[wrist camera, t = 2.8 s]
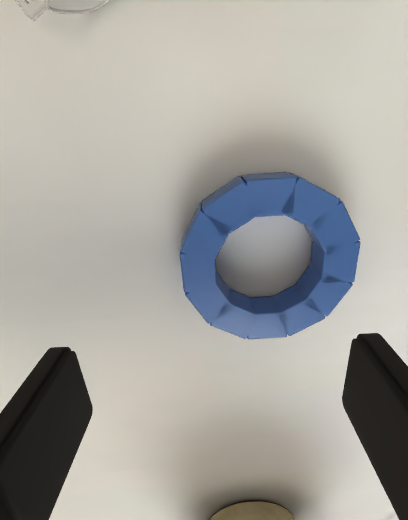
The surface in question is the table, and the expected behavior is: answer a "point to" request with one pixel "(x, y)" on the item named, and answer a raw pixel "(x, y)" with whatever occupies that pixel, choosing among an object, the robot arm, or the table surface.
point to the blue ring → (294, 298)
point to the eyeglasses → (59, 6)
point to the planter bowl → (253, 512)
